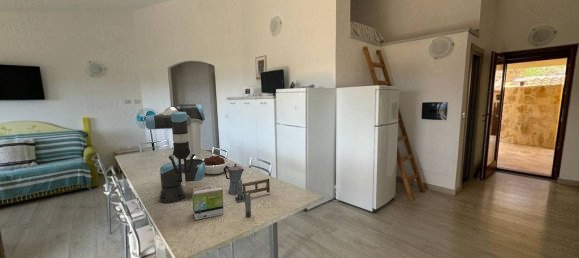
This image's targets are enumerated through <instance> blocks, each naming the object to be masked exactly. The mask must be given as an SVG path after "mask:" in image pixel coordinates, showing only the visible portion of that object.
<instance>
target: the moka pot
mask: <svg viewBox="0 0 579 258" xmlns="http://www.w3.org/2000/svg"><path fill="white" fill-rule="evenodd" d="M225 169H226V170H225ZM227 170H228V173H227ZM244 171H245V169H244V167H243V166H240V165H237V163H234V164H233V165H232V166H229V165H228V166H225V168H224V172H223V173H224V174H225V179H226V180H229V186H228V194H229V195H238V189H237V180H242V175H243V172H244Z"/></svg>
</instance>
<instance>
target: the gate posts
mask: <svg viewBox="0 0 579 258" xmlns="http://www.w3.org/2000/svg"><path fill="white" fill-rule="evenodd" d="M242 184H243V180H242V179H241V180H237V189H238V194H237V196H236V197H234V201H235V203H236V204H239V203H244V209H245V212H244V213H245V218H250V217H252V207H251V205H252V204H251V203H252V202H251V201H252V199H251V194H250V192H246V193H245V198H244V197H243V186H242Z"/></svg>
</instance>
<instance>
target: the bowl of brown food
mask: <svg viewBox="0 0 579 258" xmlns="http://www.w3.org/2000/svg"><path fill="white" fill-rule="evenodd" d="M203 162H204V163H205V174H207V175H219V174H222V173H224V168H225V166H229V165H230V160H229V159H227V158H223V157H221V156H220V155H215V156H214V155H211V156H209V157H205V158H204V159H203ZM225 170H226V171H227V168H226V169H225Z"/></svg>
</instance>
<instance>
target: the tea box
mask: <svg viewBox="0 0 579 258" xmlns="http://www.w3.org/2000/svg"><path fill="white" fill-rule="evenodd" d="M191 189H192V190H191V192H192V212H193V216H194V220H195V221H197V220H201V219H202V220H203V219H206V218H212V217H216V216H221V215H224V193H223V192H224V190H223V188H222V187H221V185H220V184H213V185H207V186H206V185H205V186H200V187H194V188H191Z"/></svg>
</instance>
